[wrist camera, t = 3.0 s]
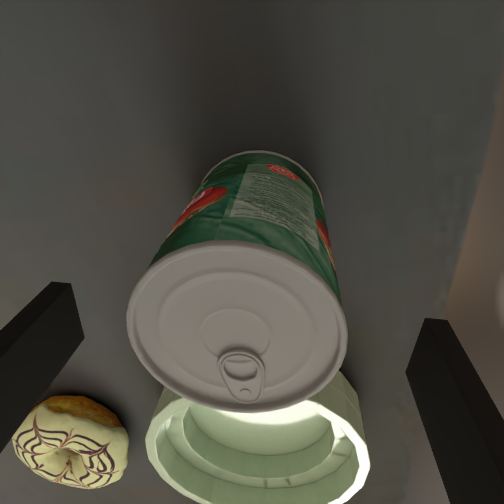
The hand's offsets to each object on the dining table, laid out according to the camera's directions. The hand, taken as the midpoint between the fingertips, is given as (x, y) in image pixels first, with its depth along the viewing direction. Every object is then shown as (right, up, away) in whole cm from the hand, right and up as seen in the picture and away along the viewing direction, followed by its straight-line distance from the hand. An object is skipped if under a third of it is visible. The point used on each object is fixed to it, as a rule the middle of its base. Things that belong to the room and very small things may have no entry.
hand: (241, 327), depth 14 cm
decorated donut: (-16, -14, +22) cm, 30 cm away
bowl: (+1, -10, +18) cm, 20 cm away
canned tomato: (+1, +5, +9) cm, 10 cm away
